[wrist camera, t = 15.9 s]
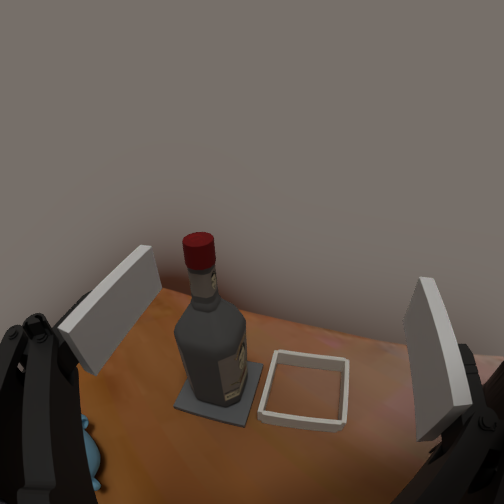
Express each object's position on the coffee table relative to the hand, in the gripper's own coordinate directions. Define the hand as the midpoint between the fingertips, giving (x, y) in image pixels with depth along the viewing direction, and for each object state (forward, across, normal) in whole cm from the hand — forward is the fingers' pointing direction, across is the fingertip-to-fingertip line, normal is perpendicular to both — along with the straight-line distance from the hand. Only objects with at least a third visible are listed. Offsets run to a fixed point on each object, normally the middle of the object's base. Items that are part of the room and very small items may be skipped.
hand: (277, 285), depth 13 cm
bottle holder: (+17, +3, -38) cm, 42 cm away
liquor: (+15, -12, -37) cm, 42 cm away
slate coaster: (+15, -12, -38) cm, 43 cm away
